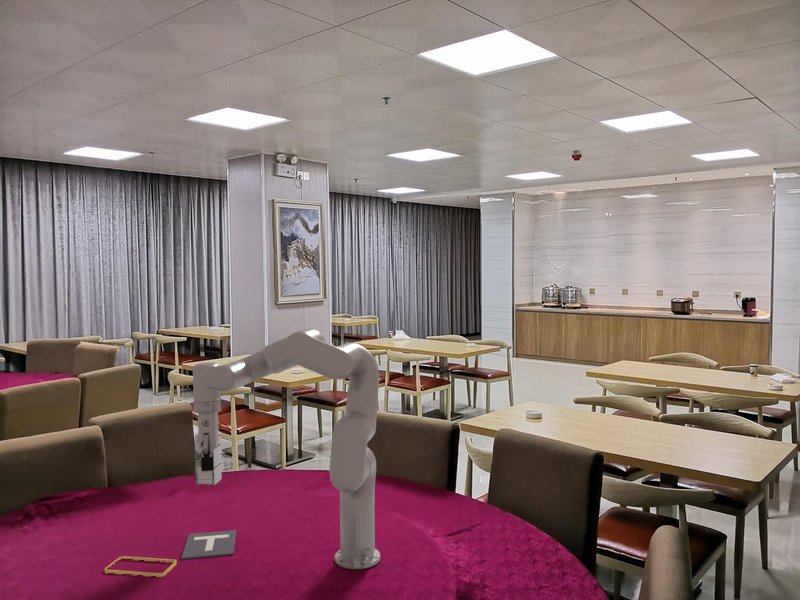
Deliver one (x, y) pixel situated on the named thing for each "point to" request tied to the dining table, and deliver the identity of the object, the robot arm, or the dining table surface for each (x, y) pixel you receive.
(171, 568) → the phone case
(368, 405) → the robot arm
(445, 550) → the dining table surface
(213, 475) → the syrup box
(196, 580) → the dining table surface
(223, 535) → the letter mat
